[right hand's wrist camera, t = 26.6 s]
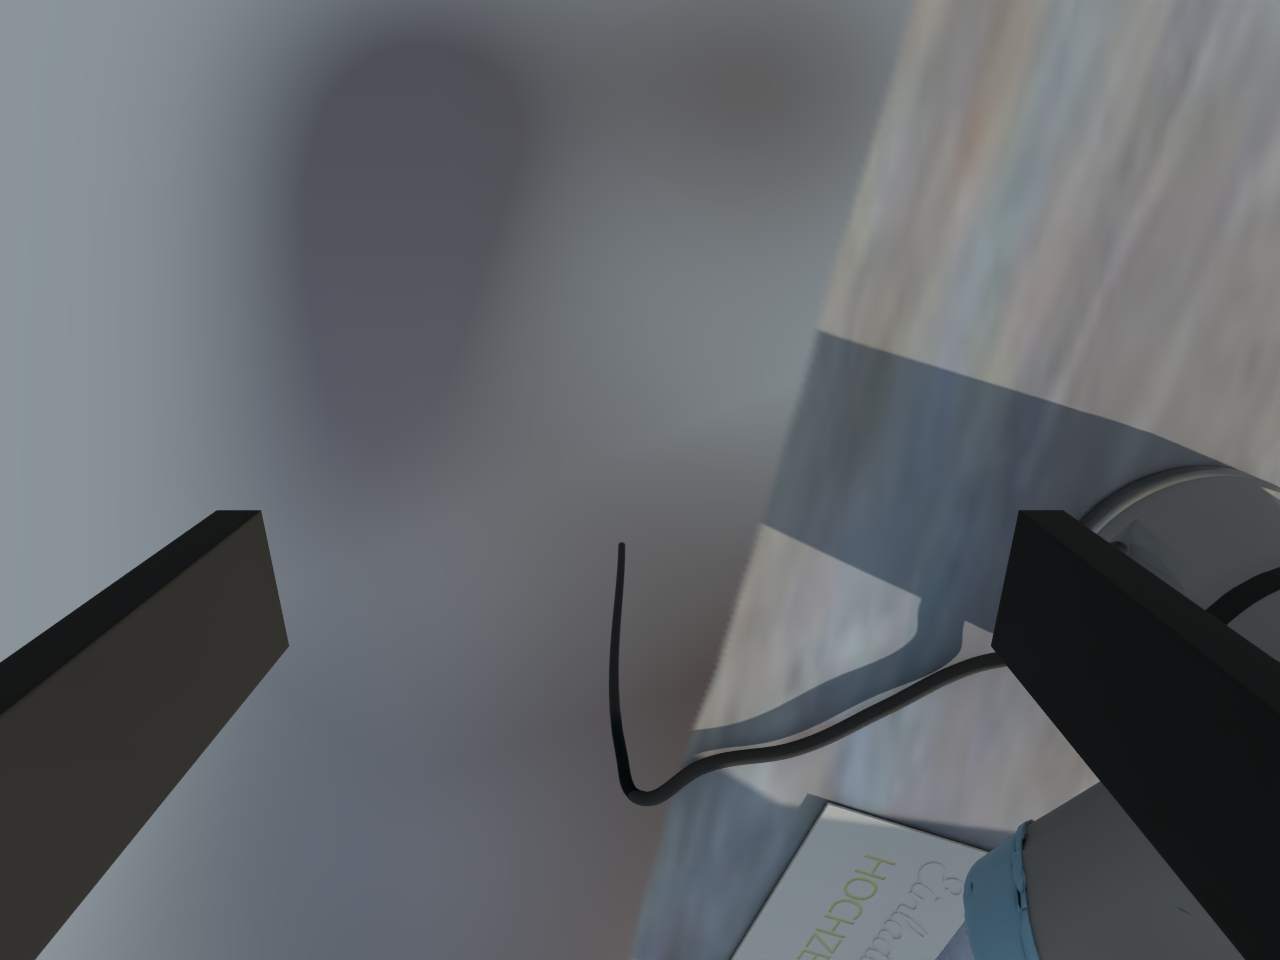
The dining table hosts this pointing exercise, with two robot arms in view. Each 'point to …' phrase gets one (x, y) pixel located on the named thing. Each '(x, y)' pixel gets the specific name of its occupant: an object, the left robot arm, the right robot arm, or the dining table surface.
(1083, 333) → the dining table surface
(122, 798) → the right robot arm
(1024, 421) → the dining table surface
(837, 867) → the invitation card
